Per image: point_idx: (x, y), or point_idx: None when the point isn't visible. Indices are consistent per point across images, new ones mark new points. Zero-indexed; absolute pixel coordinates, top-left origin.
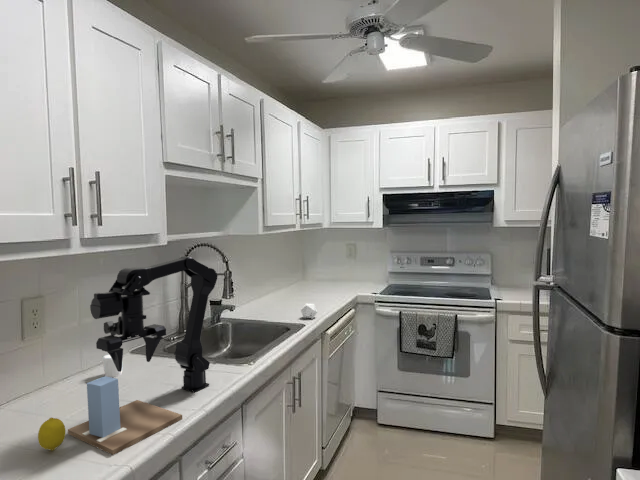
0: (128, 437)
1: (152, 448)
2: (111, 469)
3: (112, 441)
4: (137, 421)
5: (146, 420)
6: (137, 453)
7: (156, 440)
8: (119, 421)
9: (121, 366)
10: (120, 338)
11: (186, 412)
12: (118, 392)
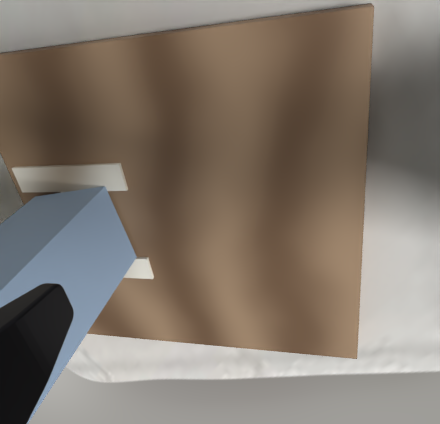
0: (138, 318)
1: (179, 375)
2: (72, 358)
3: None
4: (210, 259)
5: (239, 282)
6: (141, 361)
7: (208, 360)
8: (120, 277)
9: (38, 384)
10: None
11: (414, 322)
12: (46, 394)
